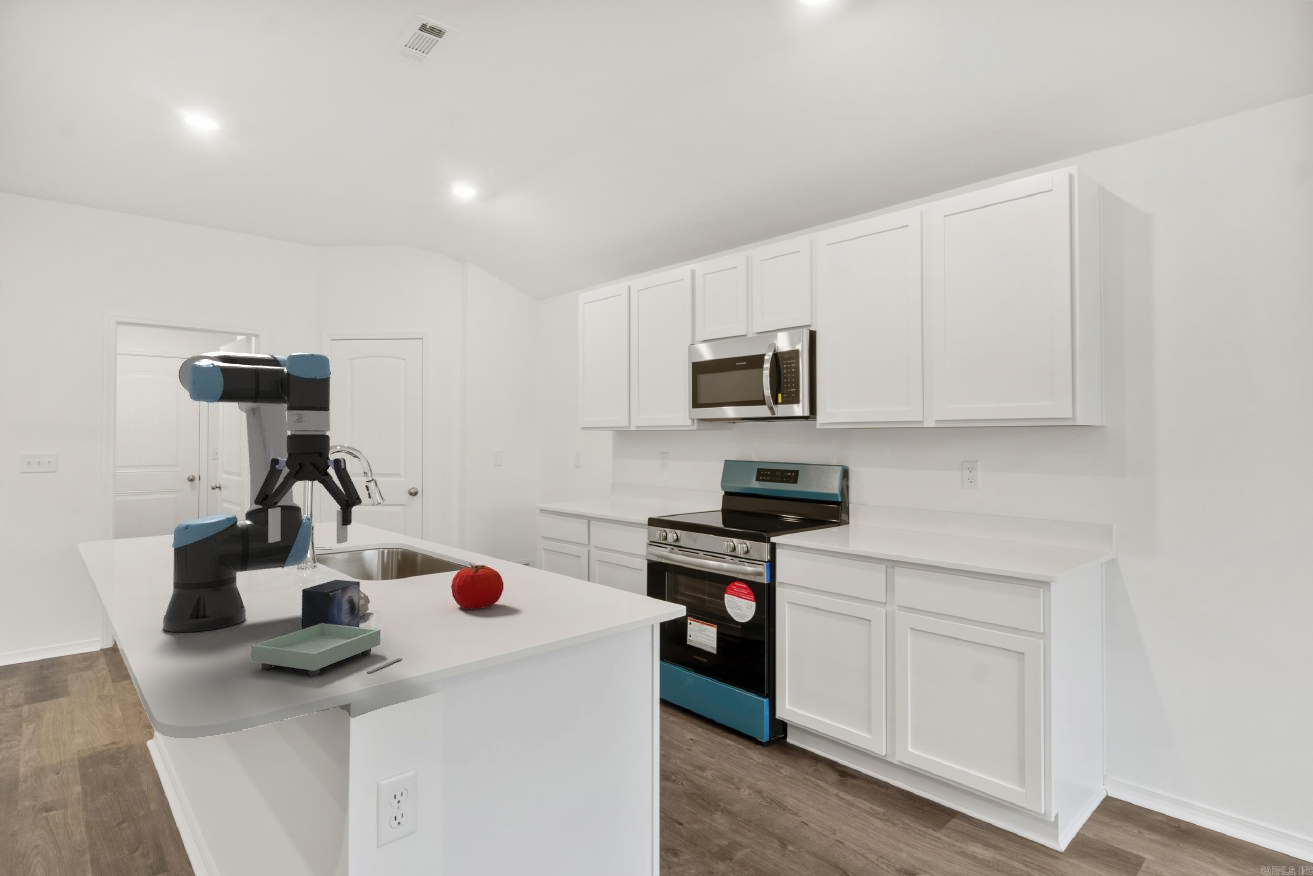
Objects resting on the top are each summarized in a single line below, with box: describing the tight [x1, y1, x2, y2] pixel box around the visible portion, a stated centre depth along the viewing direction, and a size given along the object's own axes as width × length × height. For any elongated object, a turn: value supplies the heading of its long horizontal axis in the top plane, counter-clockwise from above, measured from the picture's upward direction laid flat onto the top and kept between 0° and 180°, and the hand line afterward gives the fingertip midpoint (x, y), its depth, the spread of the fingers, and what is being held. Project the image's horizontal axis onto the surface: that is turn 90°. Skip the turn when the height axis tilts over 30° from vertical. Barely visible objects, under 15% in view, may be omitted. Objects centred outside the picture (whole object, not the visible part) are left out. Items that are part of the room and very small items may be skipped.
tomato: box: [450, 562, 505, 610], centre depth 164 cm, size 11×13×10 cm
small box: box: [300, 579, 361, 630], centre depth 141 cm, size 11×6×10 cm, turn 168°
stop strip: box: [366, 657, 403, 674], centre depth 121 cm, size 1×8×1 cm, turn 161°
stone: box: [359, 589, 371, 618], centre depth 155 cm, size 8×12×10 cm, turn 3°
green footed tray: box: [250, 623, 381, 677], centre depth 124 cm, size 14×15×4 cm
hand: (308, 542), depth 133 cm, fingers open, 13 cm apart
